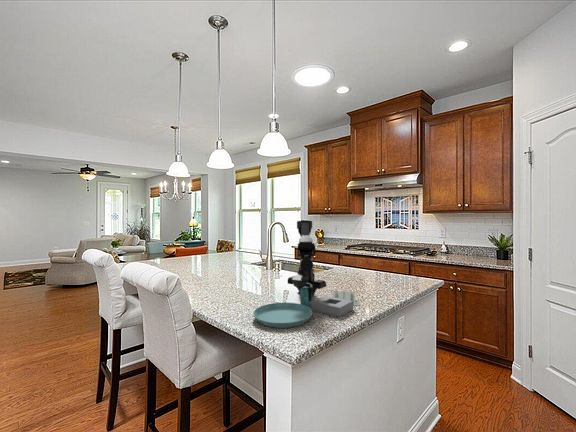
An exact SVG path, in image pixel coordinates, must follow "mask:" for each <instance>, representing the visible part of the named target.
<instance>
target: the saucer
mask: <svg viewBox="0 0 576 432" xmlns="http://www.w3.org/2000/svg"><path fill="white" fill-rule="evenodd" d="M313 312H314V311H312V308H311V307H310V306H308V307H307V306H305V305H301V303H296V302H295V303H294V302H275V303H268V304H264V305H261V306H259V307H257V308H255V309H254V310H253V317H254V318H255V320H257V322H259V323H260V324H261V325H263V326H266V327H270V328H276V329H287V328H288V329H289V328H295V327H298V326H302V325H304V324H305V323H306V322H308V321H309V320H310V319H311V317H312V315H313Z"/></svg>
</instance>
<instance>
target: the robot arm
mask: <svg viewBox="0 0 576 432" xmlns="http://www.w3.org/2000/svg"><path fill="white" fill-rule="evenodd" d="M296 229H297V230H298V234H299V235H300V238H299V239H298V240H299V241H298V242H297V256H298V257H299V267H298V270H297V274H296V275H294V276H290V277H288V278H287V284H288V285H293V286H294V287H295V288H296V289H297V291H298V292H297V294H298V295H300V297H301V291H300V288H302V287H305V286H306V287H308V290H309V301H313V298H314V296H315V293H316V291H317V290H320V289H324V288H326V287H327V282H326V281H325V280H323V279H316V280H315V273H314V271H315V269H314V262H313V257H315V255H316V251H317V249H316V245H315V243H314V241H313V239H312V237H311V236H310V234H311V233H312V229H313V221H312V220H310V219H300V220H297V221H296Z"/></svg>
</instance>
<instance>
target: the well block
mask: <svg viewBox="0 0 576 432" xmlns="http://www.w3.org/2000/svg"><path fill="white" fill-rule="evenodd" d="M311 310H312V312H314V313H321V314H324V315H328V316H332V317H333V316H334V317H337V318H341V317H343V316H344V315H346V314H348V313H350V312H352V311H353V310H354V306H353V301H351V300H346V299H340V298H335V297H332V296H328V295H324V296H322V297H320V298H317V299H315V300H312V305H311Z"/></svg>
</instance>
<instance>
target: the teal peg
mask: <svg viewBox="0 0 576 432" xmlns="http://www.w3.org/2000/svg"><path fill="white" fill-rule="evenodd" d="M300 291H301V296H300V304H301V305H305V306H307V307H310V306H312V301H313V300H312V301H309V290H308V287H306V286H305V287H302V288H300Z"/></svg>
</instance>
